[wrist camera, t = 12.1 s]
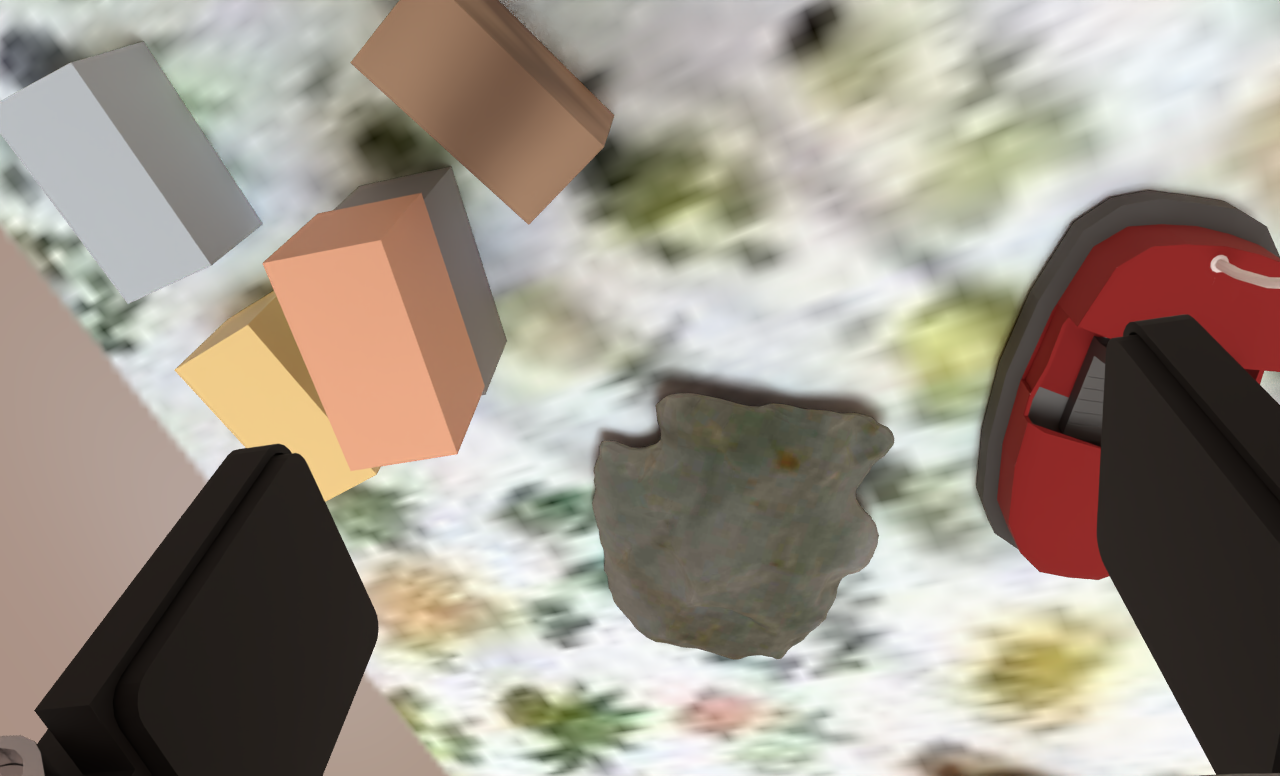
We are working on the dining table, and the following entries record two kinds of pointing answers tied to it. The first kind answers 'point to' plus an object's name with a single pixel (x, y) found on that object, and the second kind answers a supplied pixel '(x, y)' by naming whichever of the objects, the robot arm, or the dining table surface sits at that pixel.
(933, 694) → the dining table surface
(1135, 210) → the bumper car
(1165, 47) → the dining table surface
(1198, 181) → the dining table surface
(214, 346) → the ochre brick
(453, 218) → the charcoal brick
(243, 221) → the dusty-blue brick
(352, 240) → the terracotta brick
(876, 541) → the artifact
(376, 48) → the walnut brick
